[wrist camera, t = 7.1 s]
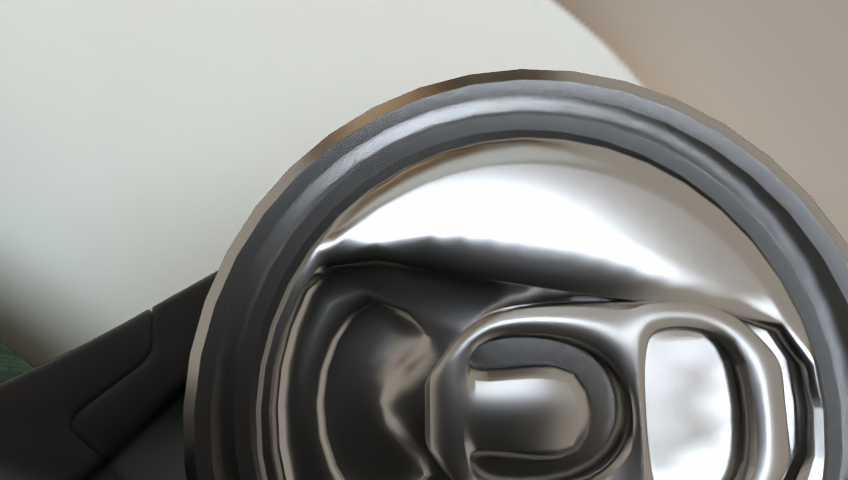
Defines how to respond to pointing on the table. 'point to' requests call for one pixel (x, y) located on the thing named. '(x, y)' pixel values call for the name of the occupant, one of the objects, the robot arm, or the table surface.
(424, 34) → the table surface
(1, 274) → the table surface
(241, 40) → the table surface
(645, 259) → the soda can
